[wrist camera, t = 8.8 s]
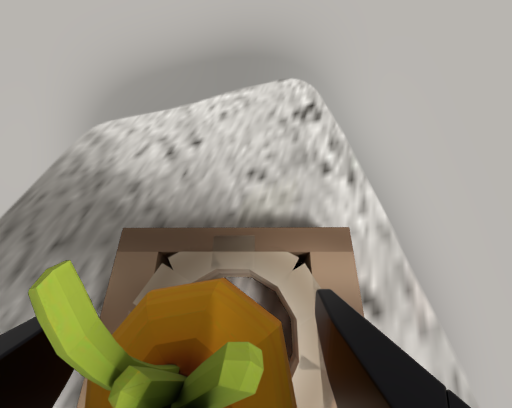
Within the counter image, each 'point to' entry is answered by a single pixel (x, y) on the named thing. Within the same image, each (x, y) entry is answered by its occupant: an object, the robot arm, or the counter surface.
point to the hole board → (243, 265)
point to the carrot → (168, 346)
